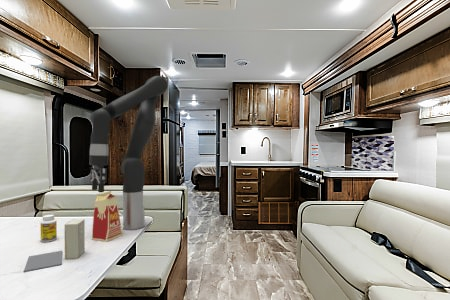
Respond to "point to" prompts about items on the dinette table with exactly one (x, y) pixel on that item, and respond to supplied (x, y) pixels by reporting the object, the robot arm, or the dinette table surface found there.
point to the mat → (43, 261)
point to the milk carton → (106, 218)
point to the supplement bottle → (48, 228)
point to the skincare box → (74, 238)
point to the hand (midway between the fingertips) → (97, 191)
